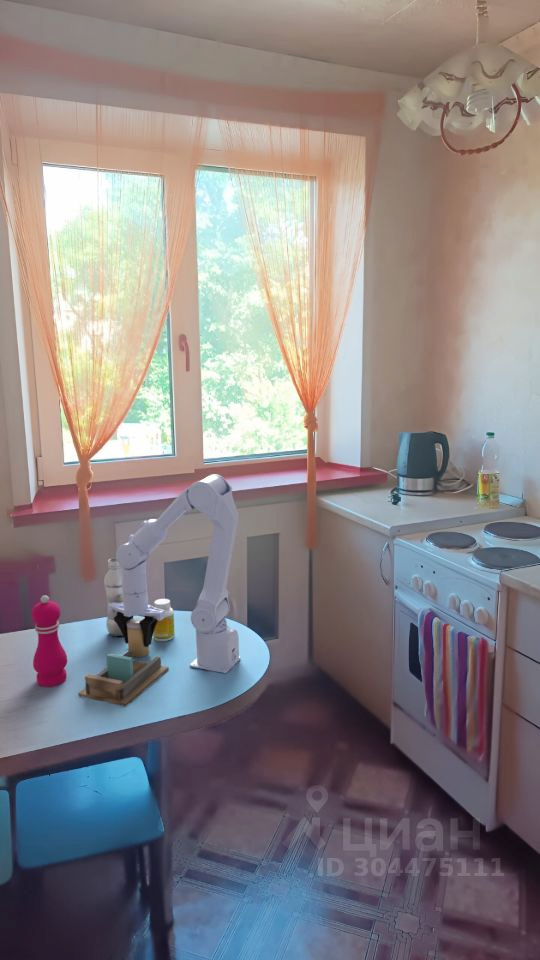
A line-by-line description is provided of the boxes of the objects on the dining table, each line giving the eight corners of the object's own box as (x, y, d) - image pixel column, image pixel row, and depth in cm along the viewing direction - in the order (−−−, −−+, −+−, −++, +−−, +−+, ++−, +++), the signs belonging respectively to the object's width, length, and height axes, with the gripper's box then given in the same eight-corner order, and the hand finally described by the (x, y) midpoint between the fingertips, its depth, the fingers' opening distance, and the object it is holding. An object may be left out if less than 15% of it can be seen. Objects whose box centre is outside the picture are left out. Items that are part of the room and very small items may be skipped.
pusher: (133, 683, 141) (132, 657, 140) (131, 685, 140) (129, 659, 139) (111, 678, 144) (109, 653, 142) (108, 680, 143) (106, 655, 141)
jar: (153, 650, 158) (151, 619, 157) (142, 659, 154) (140, 627, 152) (136, 646, 160) (134, 616, 159) (124, 655, 156) (122, 624, 154)
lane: (168, 669, 149) (167, 651, 148) (125, 706, 134) (124, 686, 133) (124, 660, 153) (123, 643, 153) (78, 695, 138) (76, 676, 137)
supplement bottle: (172, 641, 163) (171, 605, 161) (151, 642, 163) (149, 605, 161) (176, 632, 168) (174, 597, 167) (155, 632, 169) (153, 597, 167)
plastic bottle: (123, 626, 173) (119, 554, 169) (137, 633, 168) (133, 559, 164) (102, 633, 169) (97, 560, 165) (116, 641, 164) (111, 565, 160)
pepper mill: (75, 674, 147) (68, 591, 143) (55, 690, 140) (47, 603, 136) (48, 670, 149) (41, 588, 146) (27, 685, 143) (19, 599, 139)
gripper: (99, 592, 153) (103, 645, 156) (152, 599, 148) (155, 655, 150) (117, 582, 159) (120, 633, 162) (168, 589, 154) (170, 642, 157)
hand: (138, 643), depth 157 cm, fingers closed on jar, 5 cm apart
